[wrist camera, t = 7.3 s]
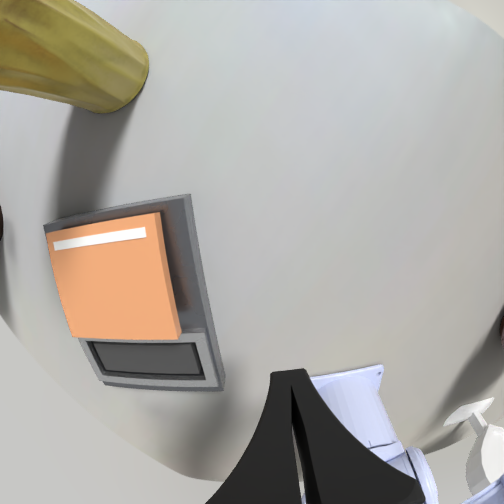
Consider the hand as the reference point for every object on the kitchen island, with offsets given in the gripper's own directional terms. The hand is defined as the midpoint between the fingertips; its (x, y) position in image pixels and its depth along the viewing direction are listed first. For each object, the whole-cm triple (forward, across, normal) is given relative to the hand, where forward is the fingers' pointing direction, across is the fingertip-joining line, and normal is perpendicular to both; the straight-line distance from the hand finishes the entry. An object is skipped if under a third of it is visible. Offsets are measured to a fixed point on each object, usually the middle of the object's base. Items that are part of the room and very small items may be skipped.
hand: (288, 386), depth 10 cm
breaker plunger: (+10, +11, +5) cm, 16 cm away
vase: (+11, +10, -17) cm, 22 cm away
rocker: (+7, +11, -2) cm, 13 cm away
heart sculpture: (+10, -32, +30) cm, 45 cm away
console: (+10, +11, +1) cm, 15 cm away
